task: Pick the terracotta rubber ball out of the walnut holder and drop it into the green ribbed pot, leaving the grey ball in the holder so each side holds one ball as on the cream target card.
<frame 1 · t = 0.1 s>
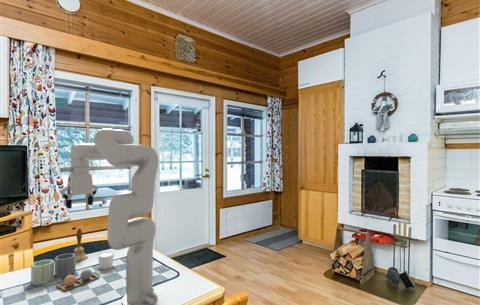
hand: (79, 206, 131), 31 cm above the table, fingers open, 9 cm apart
terracotta ball: (70, 285, 115), point 1 cm above the table, touching holder
hand bell: (78, 259, 147), on the table
green ribbed pot: (42, 282, 120), on the table
target card: (87, 273, 129), on the table
grey ball: (86, 279, 121), point 1 cm above the table, touching holder
grey ribbed bin: (65, 275, 127), on the table
holder: (78, 285, 118), on the table
white cylinder: (106, 269, 134), on the table
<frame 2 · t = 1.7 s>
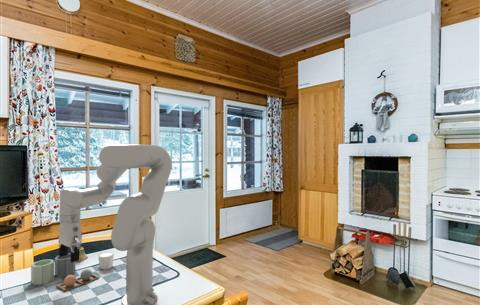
hand: (69, 258, 115), 12 cm above the table, fingers open, 9 cm apart
nothing on the table moved.
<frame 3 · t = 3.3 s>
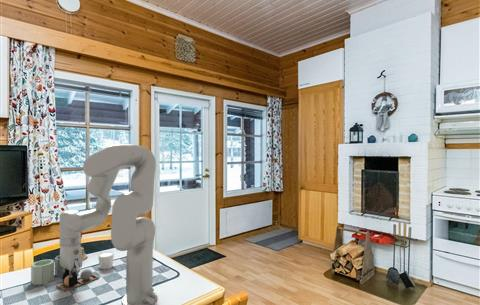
hand: (70, 283, 115), 2 cm above the table, fingers closed on terracotta ball, 4 cm apart
terracotta ball: (70, 285, 115), point 1 cm above the table, touching gripper, holder
everything else where it was.
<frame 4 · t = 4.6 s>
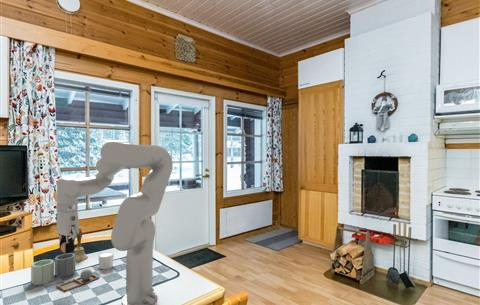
hand: (66, 250, 116), 16 cm above the table, fingers closed on terracotta ball, 4 cm apart
terracotta ball: (66, 252, 116), point 15 cm above the table, touching gripper
everything else where it was.
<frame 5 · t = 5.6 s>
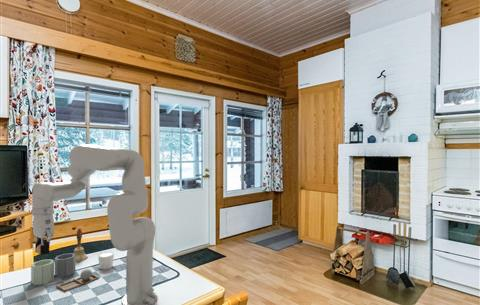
hand: (42, 252, 120), 13 cm above the table, fingers closed on terracotta ball, 4 cm apart
terracotta ball: (42, 254, 120), point 12 cm above the table, touching gripper
everything else where it was.
when the fingers open (10 cm above the table, at t = 6.2 s): terracotta ball drops 8 cm, resting on green ribbed pot.
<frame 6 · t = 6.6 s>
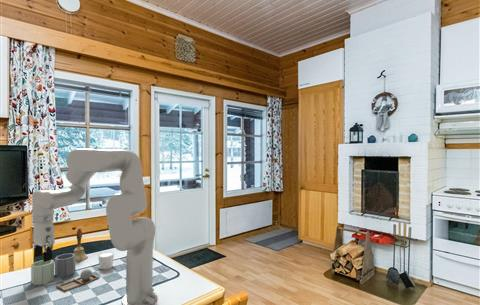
hand: (42, 258, 120), 11 cm above the table, fingers open, 8 cm apart
terracotta ball: (42, 281, 120), point 1 cm above the table, touching green ribbed pot
everything else where it was.
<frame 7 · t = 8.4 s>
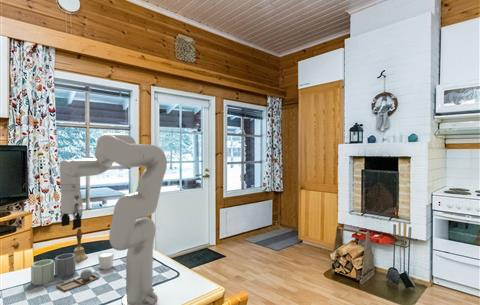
hand: (71, 226, 121), 24 cm above the table, fingers open, 9 cm apart
nothing on the table moved.
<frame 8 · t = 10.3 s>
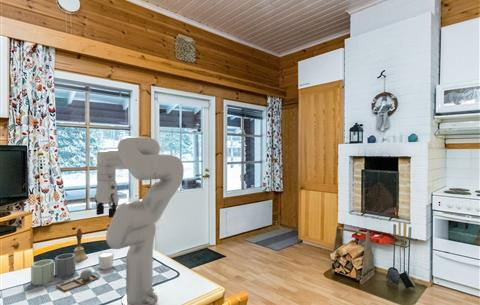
hand: (106, 215, 124), 28 cm above the table, fingers open, 9 cm apart
nothing on the table moved.
at the end: terracotta ball 0.0 cm off-centre on the green ribbed pot, point 0.6 cm above the green ribbed pot's base; grey ball moved 0.0 cm from its start; the gripper is holding nothing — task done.
